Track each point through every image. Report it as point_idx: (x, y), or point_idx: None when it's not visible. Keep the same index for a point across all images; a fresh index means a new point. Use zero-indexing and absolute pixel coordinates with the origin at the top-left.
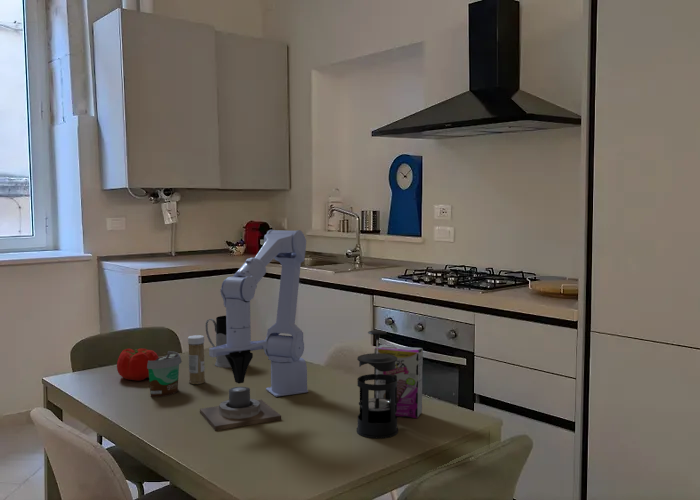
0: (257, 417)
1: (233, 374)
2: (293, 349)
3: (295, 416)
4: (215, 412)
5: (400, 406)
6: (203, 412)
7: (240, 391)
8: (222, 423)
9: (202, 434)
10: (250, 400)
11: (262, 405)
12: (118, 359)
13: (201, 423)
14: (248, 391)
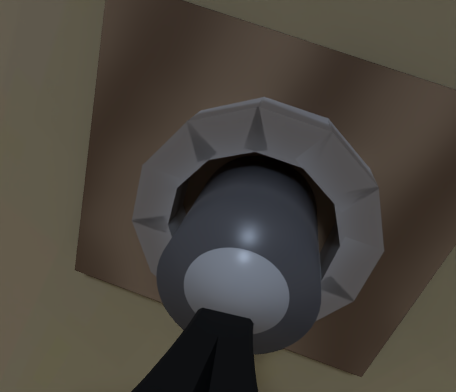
0: None
1: (166, 354)
2: None
3: (437, 378)
4: (154, 119)
5: None
6: (100, 68)
7: None
8: (111, 268)
9: (33, 253)
10: (347, 231)
11: (431, 218)
12: None
13: (68, 148)
14: (268, 348)
